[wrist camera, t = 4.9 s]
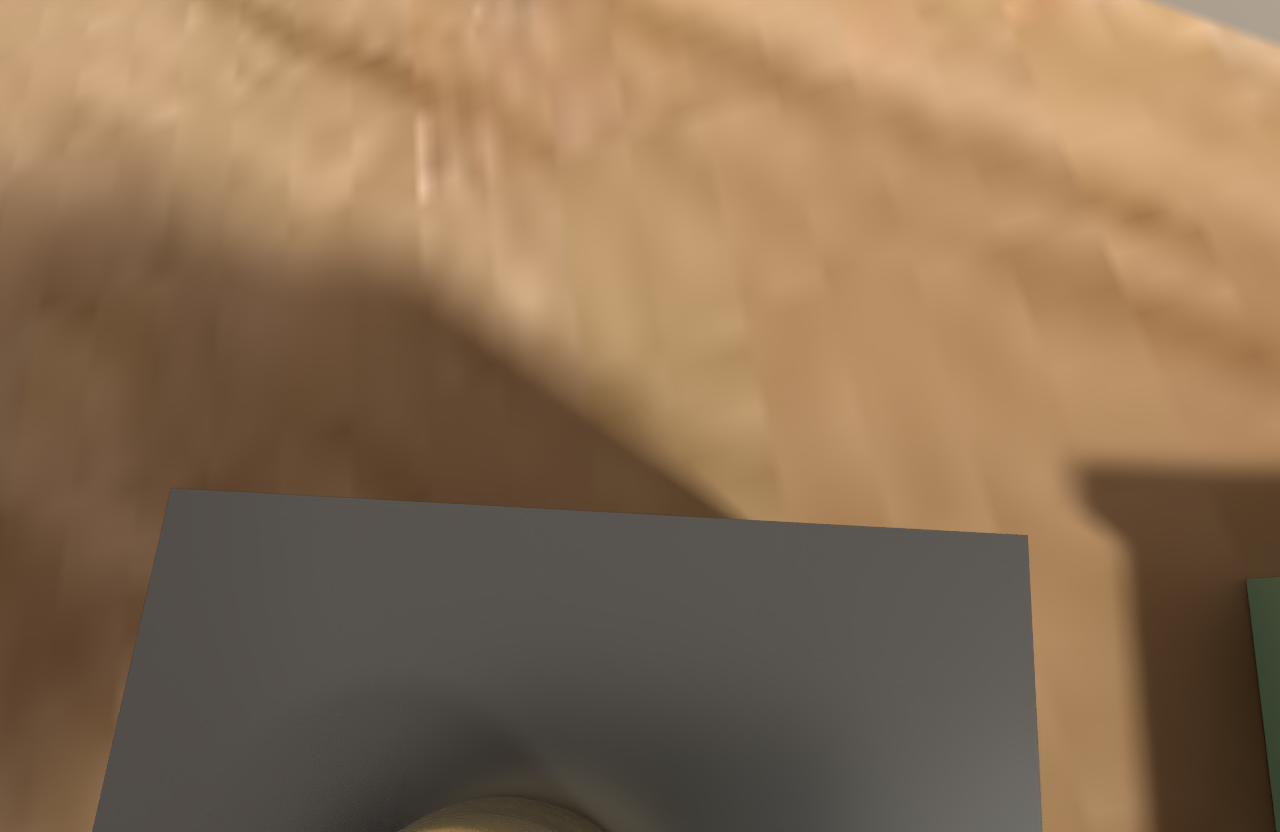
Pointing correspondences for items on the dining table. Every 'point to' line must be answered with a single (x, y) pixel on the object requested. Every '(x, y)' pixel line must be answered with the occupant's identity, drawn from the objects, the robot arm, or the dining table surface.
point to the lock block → (571, 674)
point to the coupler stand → (1268, 670)
